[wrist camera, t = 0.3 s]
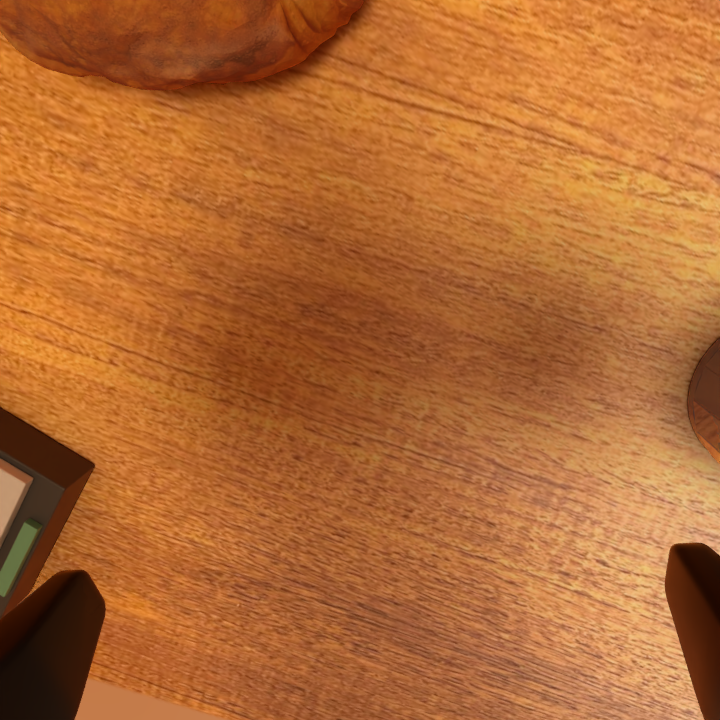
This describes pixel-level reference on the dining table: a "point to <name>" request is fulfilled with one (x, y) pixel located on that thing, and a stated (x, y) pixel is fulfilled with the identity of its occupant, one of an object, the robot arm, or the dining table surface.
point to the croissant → (171, 37)
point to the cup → (707, 401)
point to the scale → (32, 503)
